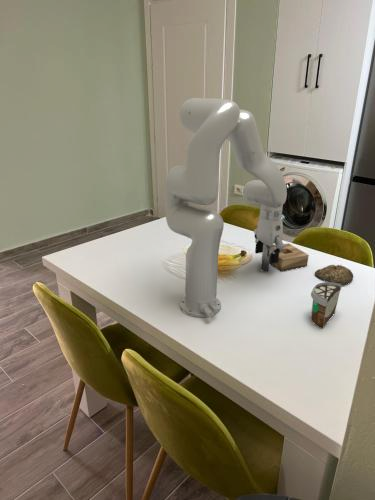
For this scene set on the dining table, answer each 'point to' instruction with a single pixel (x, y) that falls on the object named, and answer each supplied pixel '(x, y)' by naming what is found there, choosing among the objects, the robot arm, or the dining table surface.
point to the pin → (265, 257)
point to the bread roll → (335, 274)
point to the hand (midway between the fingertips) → (266, 257)
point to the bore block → (290, 258)
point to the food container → (324, 302)
